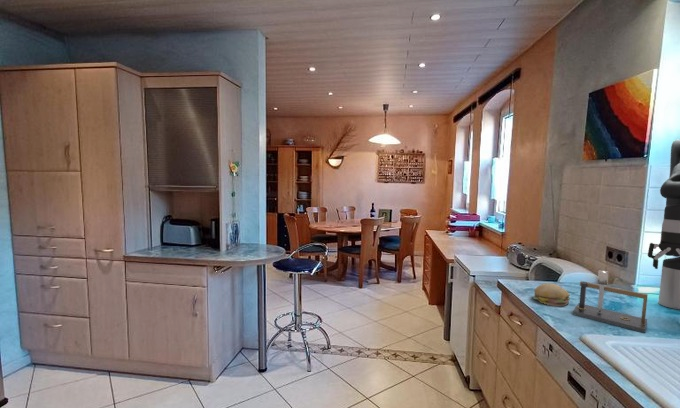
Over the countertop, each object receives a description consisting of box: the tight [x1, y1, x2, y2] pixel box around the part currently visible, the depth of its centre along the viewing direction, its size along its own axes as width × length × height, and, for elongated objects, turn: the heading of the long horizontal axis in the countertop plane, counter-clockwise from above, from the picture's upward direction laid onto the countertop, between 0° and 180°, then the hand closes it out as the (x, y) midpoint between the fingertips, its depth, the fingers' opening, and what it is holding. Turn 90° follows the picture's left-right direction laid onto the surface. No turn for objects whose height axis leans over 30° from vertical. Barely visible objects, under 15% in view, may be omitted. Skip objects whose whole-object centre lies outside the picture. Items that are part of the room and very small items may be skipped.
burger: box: [532, 282, 571, 308], centre depth 151 cm, size 13×14×8 cm
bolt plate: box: [572, 280, 649, 334], centre depth 134 cm, size 12×22×12 cm, turn 45°
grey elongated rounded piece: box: [596, 269, 609, 312], centre depth 136 cm, size 5×3×17 cm
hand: (670, 270), depth 137 cm, fingers open, 8 cm apart
